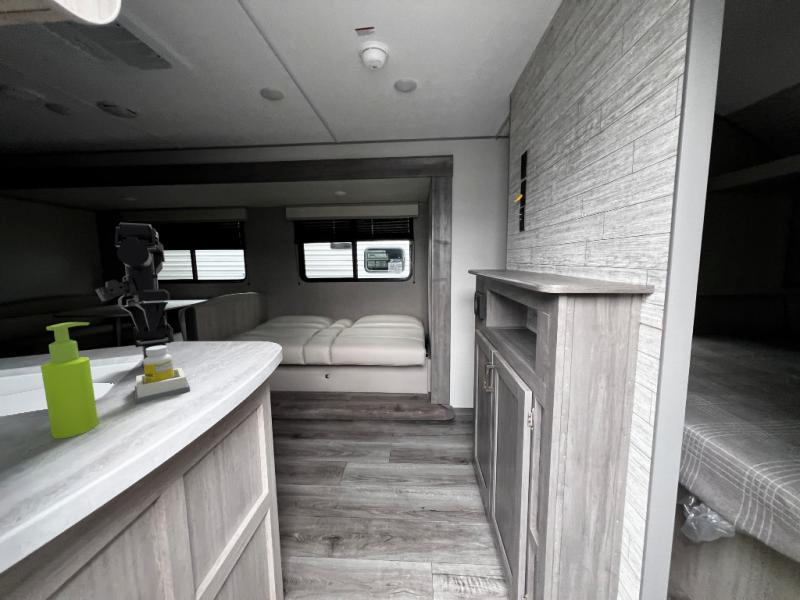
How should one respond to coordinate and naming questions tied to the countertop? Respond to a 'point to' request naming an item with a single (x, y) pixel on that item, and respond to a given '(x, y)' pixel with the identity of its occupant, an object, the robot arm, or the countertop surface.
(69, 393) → the soap dispenser
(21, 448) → the countertop surface
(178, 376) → the cream square open box
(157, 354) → the supplement bottle
